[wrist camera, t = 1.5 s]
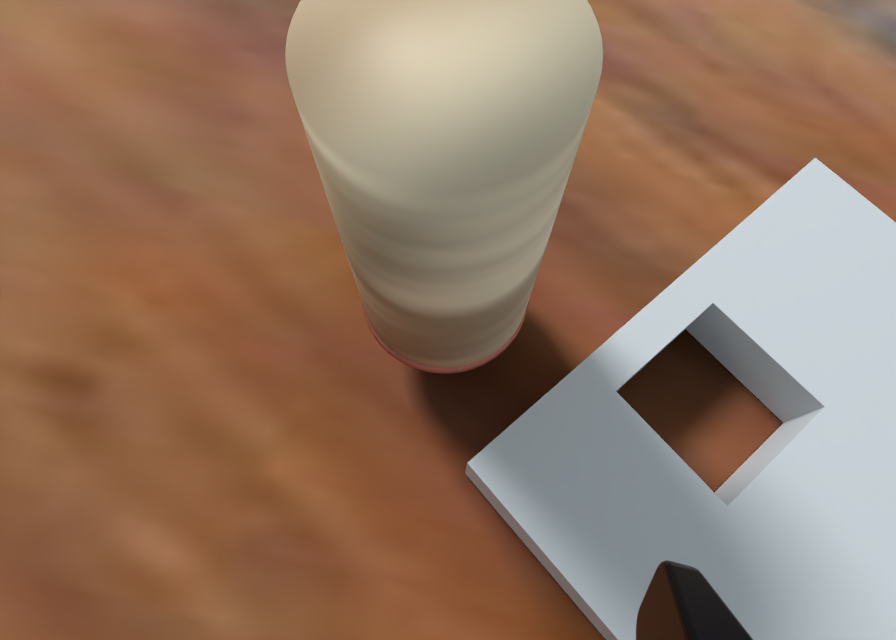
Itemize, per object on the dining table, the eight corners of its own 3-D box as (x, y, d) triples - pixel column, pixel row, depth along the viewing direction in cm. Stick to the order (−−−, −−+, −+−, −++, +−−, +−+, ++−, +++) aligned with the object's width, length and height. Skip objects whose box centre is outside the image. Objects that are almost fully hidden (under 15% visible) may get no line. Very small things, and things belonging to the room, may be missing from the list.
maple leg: (550, 326, 23) (673, 58, 10) (436, 423, 21) (423, 248, 9) (453, 225, 24) (460, -116, 12) (340, 311, 23) (218, 29, 11)
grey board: (1048, 422, 21) (1123, 406, 19) (735, 793, 18) (779, 829, 15) (780, 195, 24) (815, 157, 22) (464, 473, 21) (467, 463, 18)
